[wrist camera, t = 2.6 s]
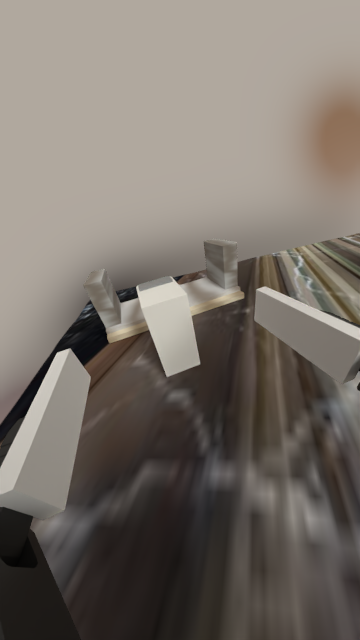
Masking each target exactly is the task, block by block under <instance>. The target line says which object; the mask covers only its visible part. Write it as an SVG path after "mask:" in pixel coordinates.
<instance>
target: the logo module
mask: <svg viewBox="0 0 360 640" xmlns="http://www.w3.org/2000/svg"><path fill="white" fill-rule="evenodd" d="M136 288H137V292H138V296H139V301H140V305H141V309H142V312H143V314H144V317H145V320H146V322H147V325H148V328H149V330H150V333H151V336H152V338H153V341H154V344H155V346H156V349H157V352H158V355H159V357H160V360H161V363H162V365H163V368H164V371H165V373H166V376H167V377H168V376H171V375H174V374H176V373H179V372H181V371H184V370H187V369H189V368H192V367H194V366H197V365H200V359H199V354H198V349H197V343H196V338H195V333H194V328H193V322H192V317H191V312H190V307H189V301H188V296H187V293H186V292H185V291H184V290H183V289H182V288H181V287H180V286H179V285H178V284H177V282H176V281H175V280H174V279H173V278H172V277H170V276H166V277H163V278H159V279H156V280H153V281H149V282H146V283H143V284H139V285H138V286H137V287H136Z"/></svg>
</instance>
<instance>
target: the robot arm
mask: <svg viewBox="0 0 360 640" xmlns="http://www.w3.org/2000/svg"><path fill="white" fill-rule="evenodd" d="M254 321H256V322H257V323H259V324H260V325H261V326H263V327H264V328H265V329H267V330H268V331H269V332H271V333H272V334H274V335H275V336H276V337H278V338H279V339H280V340H282V341H283V342H284V343H286V344H287V345H289V346H290V347H291V348H293V349H294V350H295V351H297V352H298V353H299V354H301V355H302V356H304V357H305V358H306V359H308V360H309V361H310V362H312V363H313V364H314V365H316V366H317V367H319V368H320V369H321V370H323V371H324V372H325V373H327V374H328V375H329V376H331V377H332V378H334V379H335V380H336V381H338V382H339V383H340V384H344V383H346V382H348V381H351V380H353V379H354V378H355V376H356V375H357V373H358V371H360V325H358V324H356V323H353V322H349V320H346V319H344V318H341V317H339V316H337V315H335V314H333V313H330V312H326V311H322V310H317V309H315V308H313V307H311V306H308V305H306V304H304V303H302V302H299V301H297V300H295V299H293V298H290V297H288V296H286V295H283V294H281V293H279V292H277V291H274V290H272V289H270V288H268V287H262V288H259V289H256V301H255V317H254ZM90 379H91V377H90V375H89V374H88V373H87V371H86V370H85V368H84V367H83V366H82V364H81V363H80V361H79V360H78V359H77V357H76V356H75V354H74V353H73V352H72V350H71V349H67V350H64V351H61V352H58V353H57V354H56V356H55V358H54V360H53V362H52V364H51V366H50V368H49V370H48V372H47V374H46V376H45V378H44V380H43V382H42V384H41V386H40V388H39V390H38V392H37V394H36V396H35V398H34V400H33V403H32V405H31V407H30V409H29V411H28V413H27V415H26V417H24V418H21V419H19V420H18V421H17V422H16V424H15V425H14V426H13V427H12V428H11V430H10V431H9V432H8V433H7V435H6V437H5V439H4V441H3V443H2V445H1V446H0V447H1V449H0V640H81V639H80V636H79V634H78V632H77V630H76V627H75V625H74V623H73V620H72V618H71V616H70V614H69V611H68V609H67V607H66V604H65V602H64V600H63V598H62V595H61V593H60V591H59V588H58V586H57V584H56V581H55V579H54V577H53V575H52V572H51V570H50V568H49V565H48V563H47V561H46V559H45V556H44V554H43V552H42V549H41V547H40V545H39V543H38V540H37V538H36V536H35V533H34V532H33V531H32V530H31V529H30V526H31V522H32V519H33V517H34V518H37V519H40V520H45V519H47V518H50V517H52V516H54V515H56V514H58V513H61V512H63V511H65V507H66V502H67V497H68V492H69V487H70V481H71V476H72V471H73V466H74V461H75V456H76V451H77V446H78V441H79V436H80V430H81V425H82V420H83V415H84V410H85V405H86V400H87V395H88V390H89V385H90ZM357 389H358V390H359V391H360V383H359V384H358V386H357Z"/></svg>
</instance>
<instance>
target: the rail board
mask: <svg viewBox="0 0 360 640" xmlns="http://www.w3.org/2000/svg"><path fill="white" fill-rule="evenodd" d="M204 249H205V258H206V267H207V276H208V277H205V278H202V279H199V280H196V281H192V282H189V283H186V284H183V285H179V286H180V287H181V288H182V289H183V290H184V291H185V292H186V293H187V296H188V301H189V307H190V312H191V316H192V315H195V314H198V313H201V312H204V311H207V310H210V309H213V308H216V307H219V306H222V305H225V304H228V303H231V302H234V301H237V300H240V299H243V298H244V293H243V292H242V291H240V287H239V286H237V242H232V241H226V240H221V239H212V240H208V241H205V242H204ZM83 286H84V288H85V290H86V292H87V294H88V296H89V297H90V299H91V301H92V303H93V305H94V307H95V309H96V310H97V312H98V314H99V316H100V318H101V320H102V321H103V323H104V325H105V327H106V332H107V334H108V335H107V339H108V341H109V343H112V342H115V341H118V340H121V339H124V338H127V337H130V336H133V335H136V334H139V333H142V332H145V331H148V330H149V328H148V325H147V322H146V320H145V317H144V314H143V312H142V309H141V305H140V301H139V298H137V299H134V300H130V301H127V302H124V303H120V301H119V299H118V297H117V294H116V292H115V290H114V288H113V285H112V283H111V281H110V278H109V276H108V274H107V272H106V269H102V270H98V271H95V272H91V273H90V275H89V277H88V278H87V280H86V282H85V284H84V285H83Z"/></svg>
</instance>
